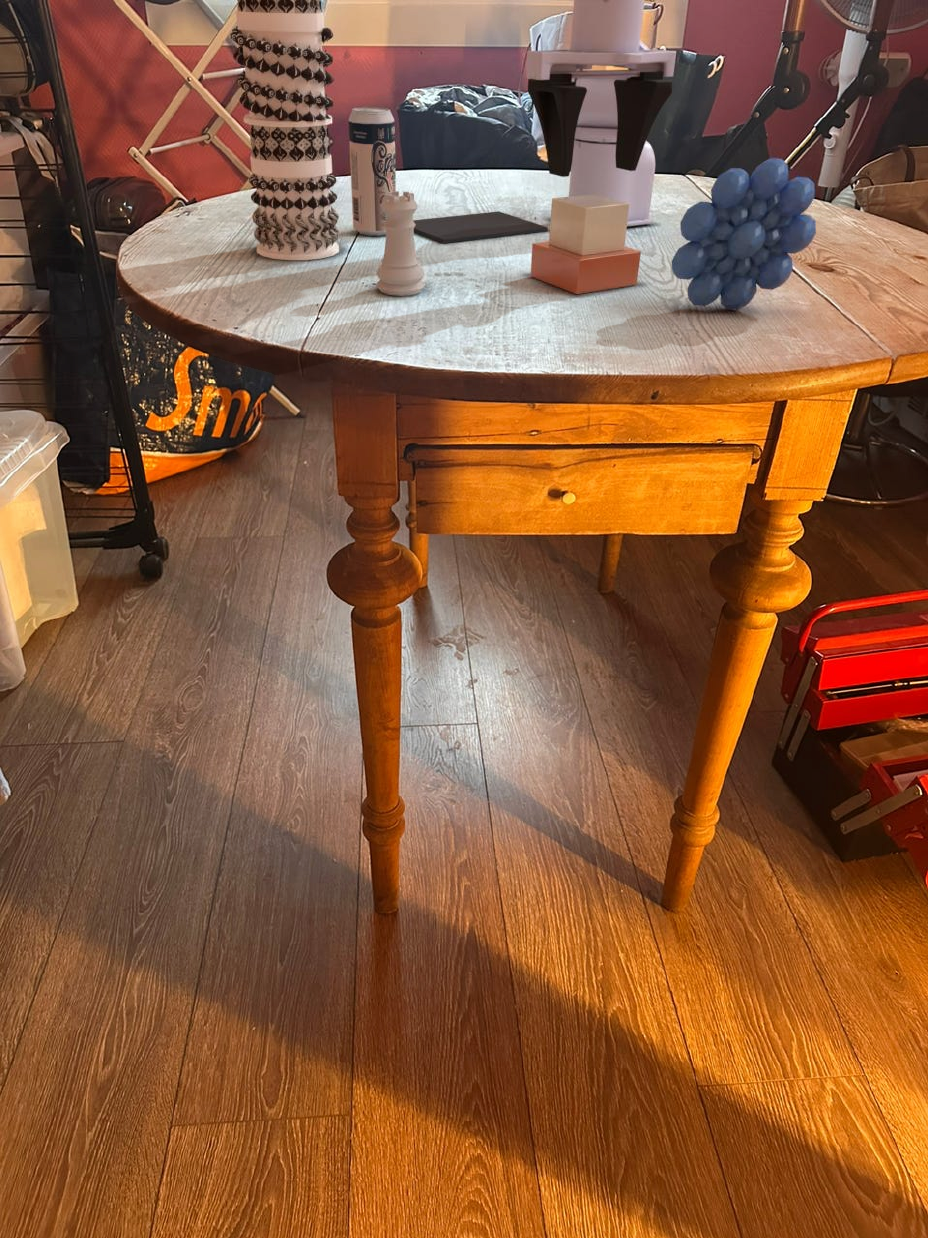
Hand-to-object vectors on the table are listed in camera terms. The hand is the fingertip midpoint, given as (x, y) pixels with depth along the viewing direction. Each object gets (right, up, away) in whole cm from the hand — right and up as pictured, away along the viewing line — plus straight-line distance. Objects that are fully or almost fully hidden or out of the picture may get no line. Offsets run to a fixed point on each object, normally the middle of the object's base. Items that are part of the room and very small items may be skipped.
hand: (593, 171), depth 82 cm
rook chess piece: (-17, -10, +1) cm, 20 cm away
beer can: (-21, +3, +20) cm, 30 cm away
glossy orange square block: (0, -8, +5) cm, 9 cm away
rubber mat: (-11, +5, +23) cm, 26 cm away
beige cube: (0, -5, +4) cm, 6 cm away
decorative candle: (-29, -2, +13) cm, 31 cm away
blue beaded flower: (+12, -12, -1) cm, 17 cm away
